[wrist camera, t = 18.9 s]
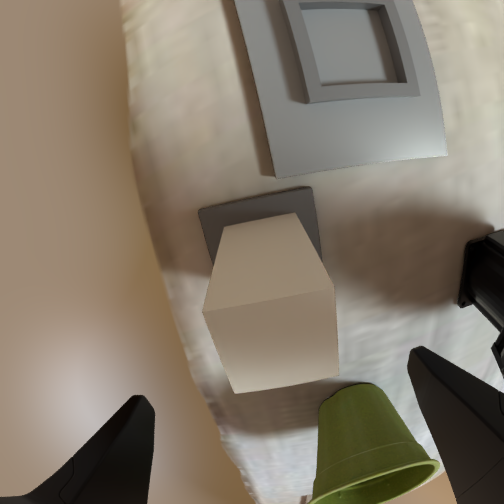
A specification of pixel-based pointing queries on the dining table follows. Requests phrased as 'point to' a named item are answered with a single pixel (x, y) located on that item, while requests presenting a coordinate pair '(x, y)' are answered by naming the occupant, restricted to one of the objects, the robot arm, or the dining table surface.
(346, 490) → the plant pot
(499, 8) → the dining table surface
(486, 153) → the dining table surface
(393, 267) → the dining table surface
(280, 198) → the rubber pad
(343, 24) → the socket board
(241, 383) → the plug
